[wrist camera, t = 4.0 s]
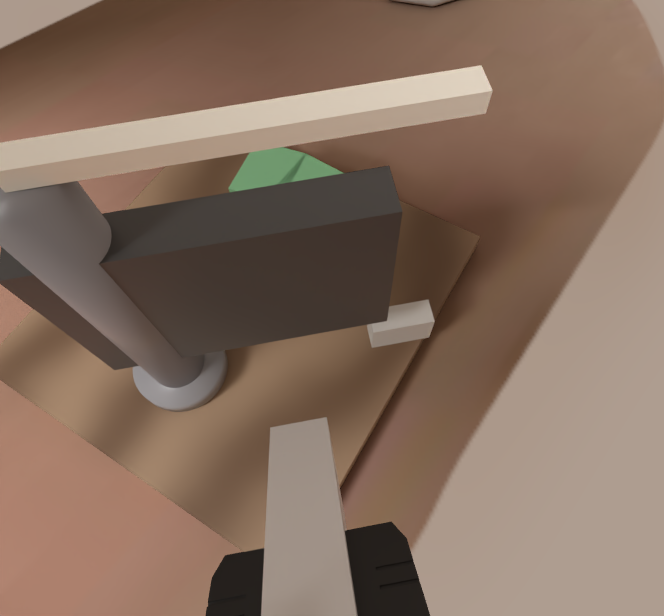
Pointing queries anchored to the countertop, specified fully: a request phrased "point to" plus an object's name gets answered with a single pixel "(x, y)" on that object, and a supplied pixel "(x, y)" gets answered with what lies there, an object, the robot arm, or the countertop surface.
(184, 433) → the brown square base board
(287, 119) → the signpost stand
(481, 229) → the countertop surface
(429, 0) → the wineglass
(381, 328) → the gauge marks
